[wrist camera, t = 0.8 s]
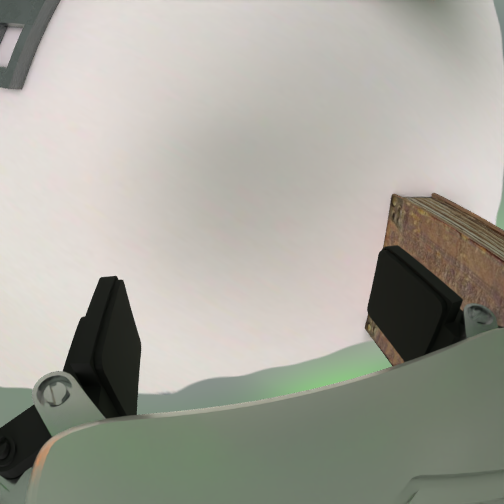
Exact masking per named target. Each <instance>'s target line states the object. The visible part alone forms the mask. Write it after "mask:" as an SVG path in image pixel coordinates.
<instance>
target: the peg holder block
mask: <svg viewBox="0 0 504 504" xmlns="http://www.w3.org/2000/svg"><path fill="white" fill-rule="evenodd" d="M59 1H60V0H0V43H1V41H2V38H3V36H4V34H5V31H6V29H7V27H17V28H23V30H22V32H21V34H20V36H19V39H18V41H17V43H16V46H15V48H14V51H13V53H12V56H11V59H10V61H9V64H8V67H7V68H6V67H0V87H2V88H8V89H22V88H23V85H24V82H25V79H26V76H27V73H28V70H29V68H30V65H31V62H32V60H33V57H34V55H35V52H36V50H37V47H38V45H39V43H40V40H41V38H42V36H43V34H44V31H45V29H46V27H47V25H48V23H49V21H50V19H51V17H52V15H53V13H54V11H55V9H56V7H57V5H58V3H59Z"/></svg>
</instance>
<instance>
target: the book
mask: <svg viewBox="0 0 504 504" xmlns="http://www.w3.org/2000/svg"><path fill="white" fill-rule="evenodd" d="M393 245H398V246H400V247H401V248H402V249H404V250H405V251H406V252H407V253H409V254H410V255H411V256H412V257H414V258H415V259H416V260H417V261H419V262H420V263H421V264H422V265H423V266H425V267H426V268H427V269H428V270H429V271H431V272H432V273H433V274H434V275H435V276H437V277H438V278H439V279H440V280H441V281H443V282H444V283H445V284H446V285H447V286H448V287H449V288H451V289H452V290H453V291H454V292H455V293H456V294H457V295H459V296H460V297H461V298H462V299H463V302H462V304H461V307H460V309H461V310H462V311H463V309H464V307H465V306H466V305H467V304H470V303H476V304H480V305H483V306H485V307H487V308H488V309H490V310H491V311H492V312H493V313H494V315H495V317H496V320H497V324H498V326H502V327H504V231H503V230H502V229H500V228H499V227H497V226H495V225H494V224H492V223H490V222H488V221H487V220H485V219H483V218H481V217H480V216H478V215H476V214H474V213H472V212H471V211H469V210H467V209H465V208H463V207H461V206H459V205H457V204H456V203H454V202H452V201H450V200H448V199H446V198H444V197H442V196H440V195H438V194H436V193H433V194H432V197H431V198H402V197H400V196H398V195H396V194H393V195H392V197H391V203H390V210H389V217H388V223H387V229H386V235H385V241H384V246H383V247H385V246H393ZM365 329H366V330H367V332H368V333H369V335H370V336H371V337H372V339H373V340H374V341H375V343H376V344H377V345H378V347H379V348H380V349H381V351H382V352H383V354H384V355H385V356H386V358H387V359H388V360H389V362H390V363H391V365H392V366H395V365H398V364H401V363H404V361H403V359H402V358H401V357H400V355H399V354H398V353H397V351H396V350H395V349H394V347H393V346H392V345H391V343H390V342H389V341H388V339H387V338H386V337H385V336H384V334H383V333H382V332H381V330H380V329H379V328H378V326H377V325H376V324H375V323H374V321H373V320H372V319H371V318H370V316H369V314H368V318H367V322H366V326H365Z"/></svg>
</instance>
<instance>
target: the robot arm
mask: <svg viewBox="0 0 504 504" xmlns="http://www.w3.org/2000/svg"><path fill="white" fill-rule="evenodd" d="M462 302H463V299H462V298H461V297H460V296H459V295H457V294H456V293H455V292H454V291H453V290H452V289H451V288H449V287H448V286H447V285H446V284H445V283H444V282H443V281H441V280H440V279H439V278H438V277H437V276H435V275H434V274H433V273H432V272H431V271H429V270H428V269H427V268H426V267H425V266H423V265H422V264H421V263H420V262H419V261H417V260H416V259H415V258H414V257H412V256H411V255H410V254H409V253H407V252H406V251H405V250H404V249H402V248H401V247H400V246H398V245H393V246H385V247H383V249H382V251H380V252H379V255H378V260H377V266H376V271H375V276H374V280H373V285H372V290H371V294H370V299H369V303H368V308H367V311H368V314H369V316H370V318H371V319H372V320H373V321H374V323H375V324H376V325H377V326H378V328H379V329H380V330H381V332H382V333H383V334H384V336H385V337H386V338H387V339H388V341H389V342H390V343H391V345H392V346H393V347H394V349H395V350H396V351H397V353H398V354H399V355H400V357H401V358H402V359H403V361H404V363H401V364H398V365H395V366H392V367H389V368H386V369H383V370H380V371H377V372H374V373H370V374H367V375H364V376H360V377H357V378H354V379H350V380H346V381H343V382H339V383H335V384H331V385H328V386H323V387H319V388H315V389H311V390H306V391H303V392H298V393H293V394H289V395H283V396H279V397H273V398H268V399H263V400H257V401H251V402H246V403H239V404H232V405H225V406H218V407H210V408H202V409H195V410H186V411H176V412H165V413H153V414H142V415H137V397H138V382H139V369H140V357H141V342H140V338H139V335H138V331H137V328H136V325H135V321H134V318H133V314H132V311H131V307H130V304H129V300H128V296H127V292H126V288H125V284H124V281H123V280H118V278H117V276H110V277H101V278H100V279H99V282H98V284H97V287H96V289H95V292H94V294H93V297H92V300H91V302H90V305H89V308H88V310H87V313H86V316H85V317H82V318H81V319H80V321H79V324H78V326H77V329H76V332H75V335H74V338H73V341H72V344H71V347H70V350H69V353H68V356H67V359H66V362H65V366H64V369H63V372H62V371H56V372H51V373H49V374H46V375H44V376H43V377H42V378H40V379H39V380H38V382H37V383H36V384H35V386H34V388H33V391H32V399H33V402H34V405H33V406H31V407H30V408H28V409H27V410H25V411H24V412H23V413H21V414H20V415H18V416H17V417H15V418H14V419H13V420H11V421H10V422H8V423H7V424H5V425H4V426H3V427H1V428H0V504H504V327H502V326H498V324H497V320H496V317H495V315H494V313H493V312H492V311H491V310H490V309H488V308H487V307H485V306H483V305H480V304H476V303H470V304H467V305H466V306H465V307H464V309H463V311H462V310H461V309H460V307H461V304H462Z"/></svg>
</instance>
